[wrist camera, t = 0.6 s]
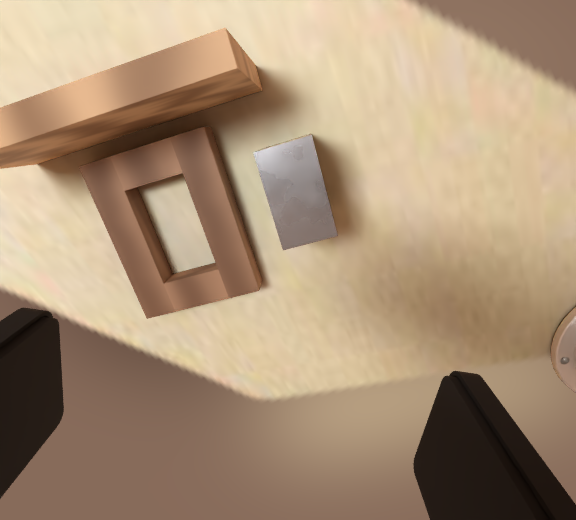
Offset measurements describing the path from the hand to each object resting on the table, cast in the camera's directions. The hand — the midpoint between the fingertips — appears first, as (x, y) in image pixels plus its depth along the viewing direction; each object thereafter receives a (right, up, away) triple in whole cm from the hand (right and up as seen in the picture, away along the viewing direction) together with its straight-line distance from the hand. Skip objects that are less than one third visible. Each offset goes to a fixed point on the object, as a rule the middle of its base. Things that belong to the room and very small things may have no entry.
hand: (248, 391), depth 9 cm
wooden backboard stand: (-10, +8, +26) cm, 29 cm away
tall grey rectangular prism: (+2, +11, +25) cm, 27 cm away
